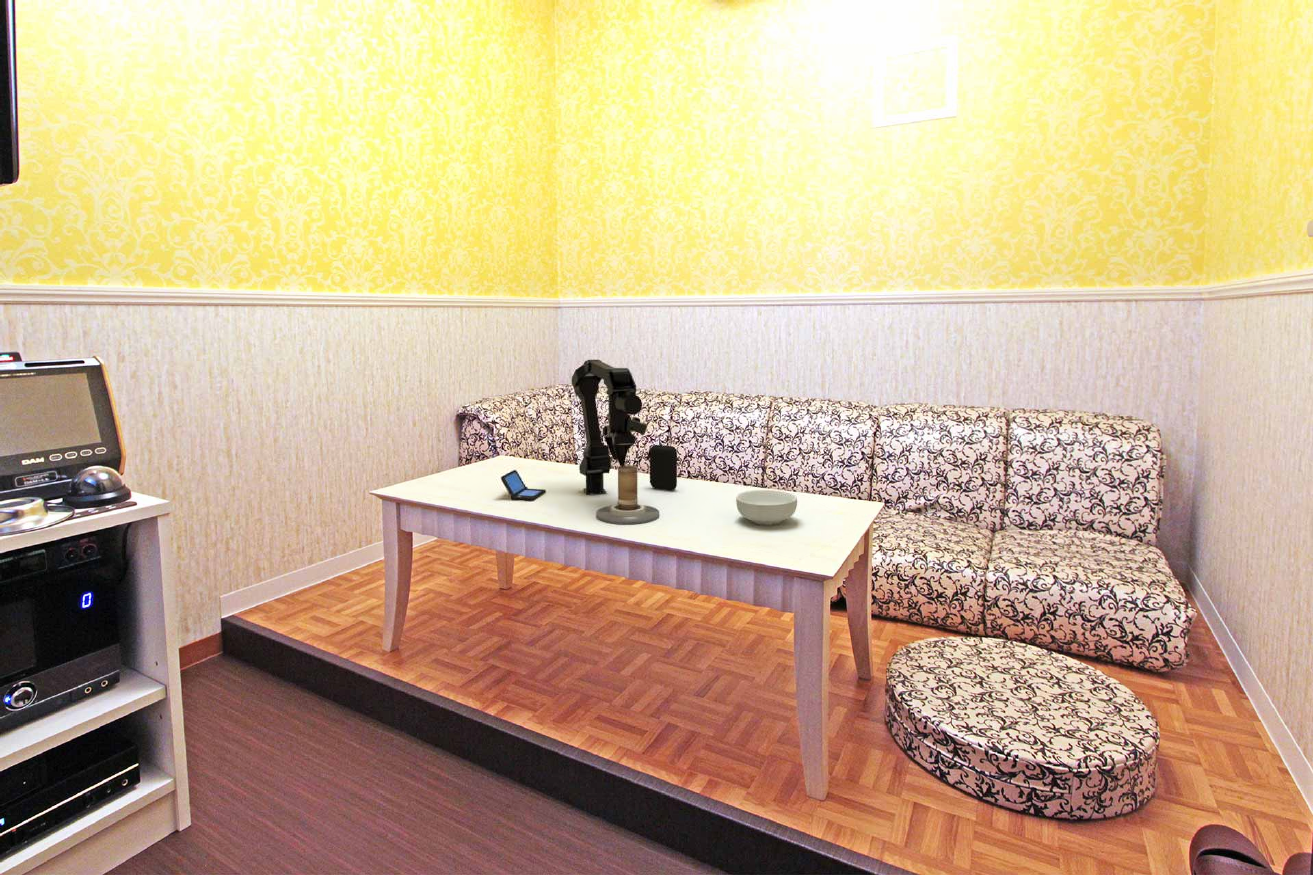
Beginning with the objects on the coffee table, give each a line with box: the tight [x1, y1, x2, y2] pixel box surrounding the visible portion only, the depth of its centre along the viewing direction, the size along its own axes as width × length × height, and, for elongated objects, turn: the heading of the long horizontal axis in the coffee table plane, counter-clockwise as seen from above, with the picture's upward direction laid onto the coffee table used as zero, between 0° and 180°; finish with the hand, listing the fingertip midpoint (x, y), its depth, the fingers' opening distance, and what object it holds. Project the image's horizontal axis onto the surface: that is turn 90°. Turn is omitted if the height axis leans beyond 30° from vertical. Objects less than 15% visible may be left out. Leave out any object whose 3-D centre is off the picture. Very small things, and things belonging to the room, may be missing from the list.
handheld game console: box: [500, 469, 547, 502], centre depth 229 cm, size 12×11×7 cm
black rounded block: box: [646, 444, 678, 492], centre depth 237 cm, size 11×3×15 cm, turn 62°
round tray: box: [595, 503, 660, 526], centre depth 206 cm, size 18×18×2 cm
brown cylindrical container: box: [617, 465, 639, 511], centre depth 206 cm, size 6×6×13 cm
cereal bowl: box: [735, 489, 798, 526], centre depth 201 cm, size 17×17×7 cm
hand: (618, 462), depth 216 cm, fingers open, 9 cm apart
